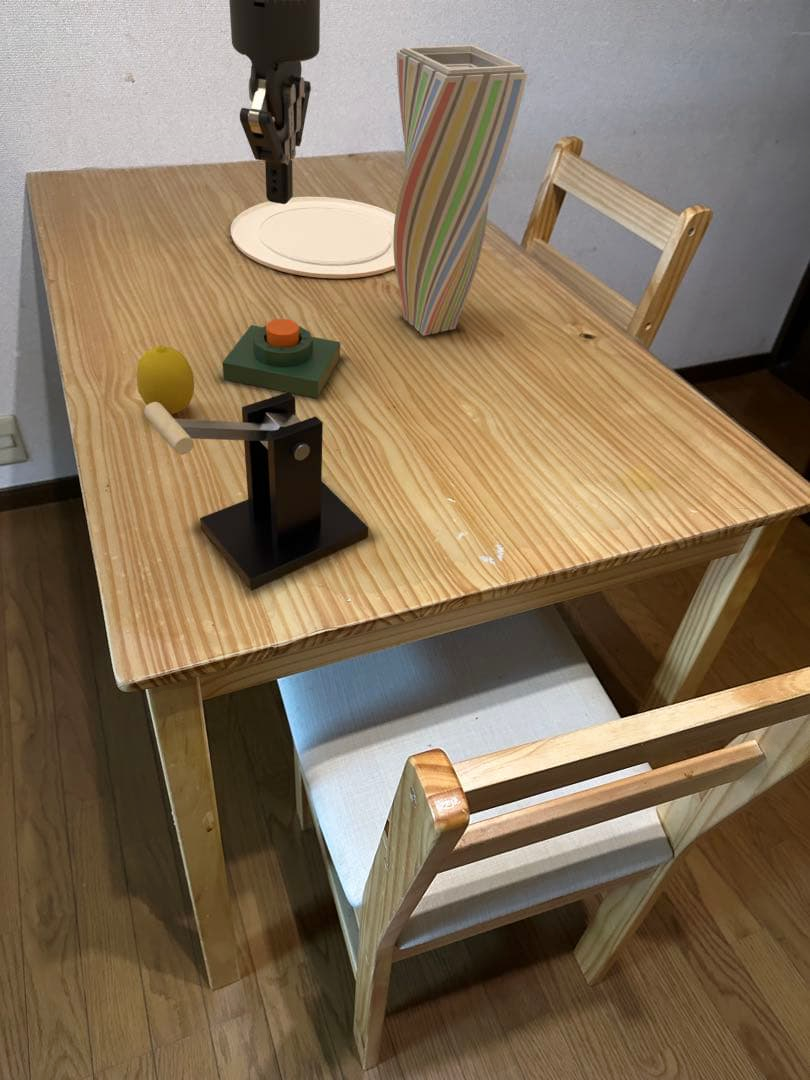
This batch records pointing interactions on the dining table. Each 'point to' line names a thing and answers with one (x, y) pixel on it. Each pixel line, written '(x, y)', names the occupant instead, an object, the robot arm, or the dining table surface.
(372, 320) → the dining table surface
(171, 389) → the lemon
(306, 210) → the plate
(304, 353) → the button box
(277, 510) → the bracket
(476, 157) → the vase
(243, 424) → the lever
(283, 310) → the dining table surface
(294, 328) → the button
